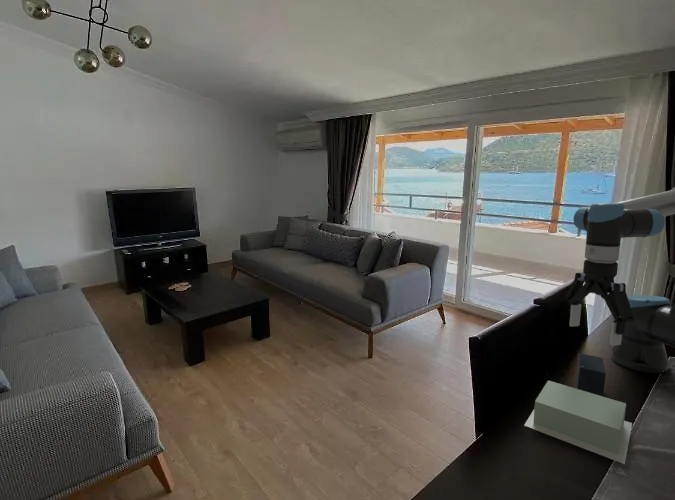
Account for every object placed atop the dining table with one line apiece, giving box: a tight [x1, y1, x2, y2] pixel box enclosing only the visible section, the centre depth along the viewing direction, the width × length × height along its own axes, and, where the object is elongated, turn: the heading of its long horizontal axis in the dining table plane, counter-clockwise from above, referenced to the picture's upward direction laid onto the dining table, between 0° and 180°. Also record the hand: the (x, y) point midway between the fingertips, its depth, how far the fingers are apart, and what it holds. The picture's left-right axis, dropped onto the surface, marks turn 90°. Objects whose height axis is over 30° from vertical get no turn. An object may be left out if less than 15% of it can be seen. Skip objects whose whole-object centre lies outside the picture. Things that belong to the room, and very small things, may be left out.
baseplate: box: [523, 409, 633, 465], centre depth 91 cm, size 18×20×1 cm
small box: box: [574, 352, 607, 397], centre depth 104 cm, size 11×6×10 cm, turn 148°
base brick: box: [533, 380, 627, 454], centre depth 91 cm, size 13×17×6 cm
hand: (593, 334), depth 102 cm, fingers open, 13 cm apart
